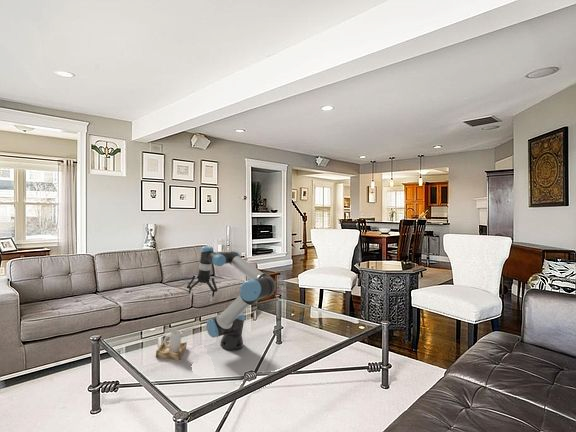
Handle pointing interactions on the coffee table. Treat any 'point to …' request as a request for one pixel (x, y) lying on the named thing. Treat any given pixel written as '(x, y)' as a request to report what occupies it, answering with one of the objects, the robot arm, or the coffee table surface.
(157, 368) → the coffee table surface
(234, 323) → the robot arm
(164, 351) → the crate
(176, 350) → the mug
